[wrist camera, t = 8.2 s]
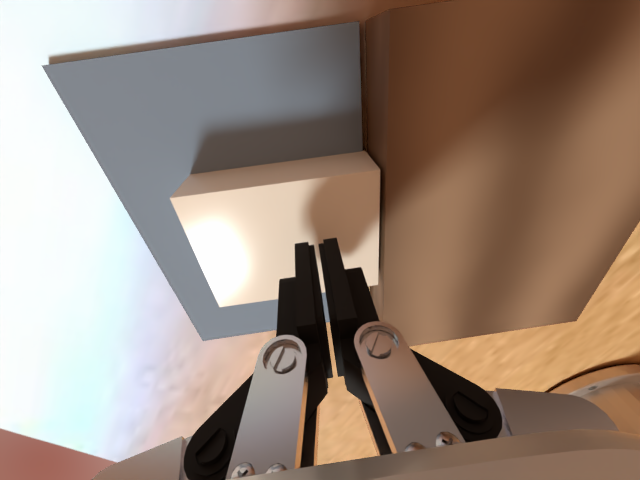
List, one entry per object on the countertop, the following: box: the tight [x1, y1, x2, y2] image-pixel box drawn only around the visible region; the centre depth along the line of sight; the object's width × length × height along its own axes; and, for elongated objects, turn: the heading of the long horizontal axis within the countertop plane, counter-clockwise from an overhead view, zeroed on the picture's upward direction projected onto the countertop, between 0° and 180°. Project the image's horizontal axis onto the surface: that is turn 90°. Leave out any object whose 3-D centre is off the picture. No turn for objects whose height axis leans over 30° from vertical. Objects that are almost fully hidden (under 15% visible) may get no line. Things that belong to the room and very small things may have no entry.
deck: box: [365, 0, 640, 346], centre depth 13 cm, size 12×16×3 cm
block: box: [170, 151, 380, 307], centre depth 13 cm, size 8×6×2 cm
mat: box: [42, 21, 363, 341], centre depth 14 cm, size 11×16×1 cm
